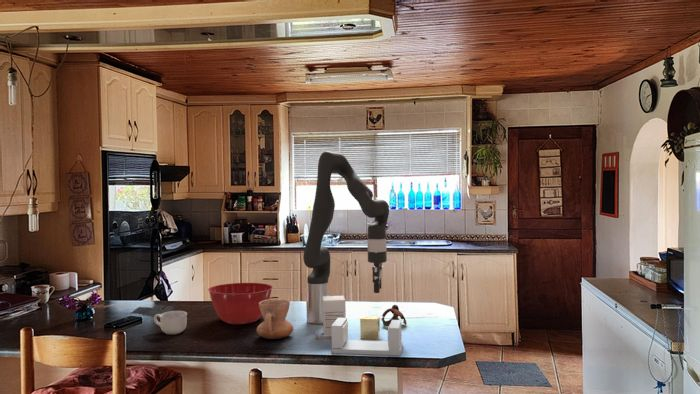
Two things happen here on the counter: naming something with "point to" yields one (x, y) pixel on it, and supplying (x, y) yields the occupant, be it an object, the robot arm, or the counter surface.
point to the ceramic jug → (274, 319)
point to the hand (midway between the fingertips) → (377, 290)
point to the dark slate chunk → (153, 310)
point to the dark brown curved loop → (395, 315)
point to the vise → (376, 343)
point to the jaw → (337, 333)
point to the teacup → (172, 321)
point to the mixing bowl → (239, 301)
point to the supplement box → (332, 312)
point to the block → (370, 327)
